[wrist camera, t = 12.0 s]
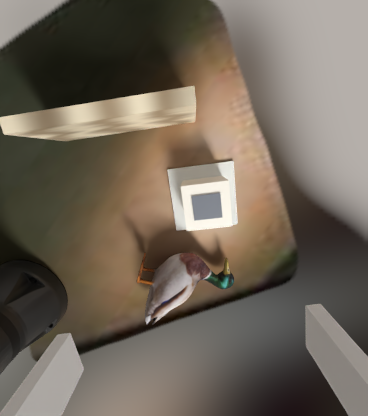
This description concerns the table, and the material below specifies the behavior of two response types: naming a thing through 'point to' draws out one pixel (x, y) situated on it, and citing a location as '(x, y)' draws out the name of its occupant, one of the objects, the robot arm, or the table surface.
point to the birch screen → (106, 116)
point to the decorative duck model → (179, 282)
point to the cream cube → (206, 203)
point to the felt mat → (198, 172)
